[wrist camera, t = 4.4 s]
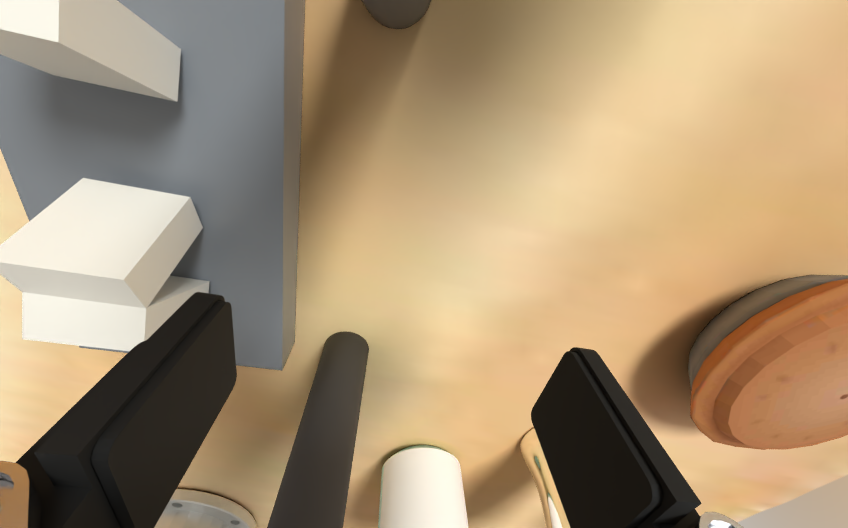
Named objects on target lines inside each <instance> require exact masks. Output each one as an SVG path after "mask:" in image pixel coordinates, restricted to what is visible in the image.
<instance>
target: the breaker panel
mask: <svg viewBox="0 0 848 528" xmlns="http://www.w3.org/2000/svg"><path fill="white" fill-rule="evenodd" d="M117 1H119V2H120V3H121V4H123V5H124V6H125V7H126V8H128V9H129V10H130V11H132V12H133V13H134V14H136V15H137V16H138V17H140V18H141V19H142V20H143V21H145V22H146V23H147V24H149V25H150V26H151V27H153V28H154V29H155V30H157V31H158V32H159V33H160V34H162V35H163V36H164V37H166V38H167V39H168V40H170V41H171V42H172V43H174V44H175V45H176V46H177V47H179V48H180V49H181V56H180V71H179V86H178V101H177V102H176V101H171V100H166V99H162V98H157V97H152V96H148V95H143V94H138V93H134V92H129V91H124V90H120V89H115V88H111V87H106V86H101V85H97V84H92V83H87V82H83V81H78V80H73V79H69V78H64V77H60V76H55V75H52V74H49V73H46V72H44V71H41V70H39V69H36V68H34V67H31V66H29V65H26V64H24V63H21V62H19V61H16V60H13V59H11V58H8V57H6V56H3V55H1V54H0V149H1V151H2V154H3V156H4V159H5V161H6V164H7V166H8V169H9V171H10V174H11V176H12V179H13V181H14V184H15V186H16V189H17V191H18V194H19V196H20V199H21V201H22V204H23V206H24V209H25V211H26V214H27V216H28V219H29V221H31V220H32V219H33V218H34V217H36V216H37V215H38V214H39V213H40V212H42V211H43V210H44V209H45V208H47V207H48V206H49V205H50V204H52V203H53V202H54V201H55V200H56V199H58V198H59V197H60V196H61V195H63V194H64V193H65V192H66V191H68V190H69V189H70V188H71V187H72V186H74V185H75V184H76V183H77V182H79V181H80V180H81V179H82V178H87V179H92V180H98V181H104V182H109V183H115V184H120V185H126V186H132V187H137V188H143V189H148V190H154V191H160V192H165V193H171V194H176V195H182V196H188V197H191V200H192V202H193V205H194V207H195V209H196V212H197V214H198V217H199V219H200V222H201V224H202V227H203V228H202V230H201V231H200V233H199V234H198V236H197V237H196V239H195V240H194V241H193V243H192V244H191V246H190V247H189V249H188V250H187V251H186V253H185V254H184V256H183V257H182V259H181V260H180V261H179V263H178V264H177V266H176V267H175V269H174V270H173V271H172V273H171V274H170V276H177V277H184V278H191V279H197V280H204V281H210V282H209V294H216V295H222V296H223V297H224V299H225V302H229V303H230V304H231V307H232V320H233V333H234V346H235V360H236V365H238V366H247V367H256V368H265V369H274V370H283V368H284V365H285V363H286V361H287V358H288V356H289V354H290V352H291V349H292V347H293V345H294V342H295V316H296V283H297V250H298V217H299V184H300V151H301V118H302V85H303V52H304V19H305V0H117ZM79 347H81V348H89V349H98V350H107V351H116V352H124V353H128V352H129V351H122V350H113V349H104V348H96V347H87V346H79Z"/></svg>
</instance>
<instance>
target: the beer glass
mask: <svg viewBox="0 0 848 528" xmlns="http://www.w3.org/2000/svg"><path fill="white" fill-rule="evenodd" d="M520 451H521V454H522V456H523V458H524V460H525V462H526V464H527V466H528V468H529V470H530V472H531V474H532V477H533V479H534V481H535V484H536V487H537V490H538V493H539V497H540V501H541V505H542V510H543V516H544V521H545V528H570V525H569V522H568V520H567V517H566V514H565V511H564V509H563V506H562V503H561V500H560V498H559V495H558V492H557V489H556V486H555V484H554V481H553V478H552V475H551V473H550V470H549V467H548V464H547V462H546V459H545V456H544V453H543V451H542V448H541V445H540V442H539V440H538V437H537V434H536V431H535V428H533V429H531V430H530V431H529V432H528V433H527V434H526V435H525V436H524V437H523V439H522V440H521V443H520Z"/></svg>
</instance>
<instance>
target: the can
mask: <svg viewBox="0 0 848 528" xmlns="http://www.w3.org/2000/svg"><path fill="white" fill-rule="evenodd" d="M378 528H468V520H467V513H466V505H465V498H464V490H463V483H462V475H461V468H460V463H459V461H458V460H457V459H456V458H455V457H454V456H453V455H451V454H450V453H448V452H446V451H444V450H443V449H441V448H438V447H435V446H429V445H417V446H411V447H408V448H405V449H403V450H401V451H399V452H398V453H396V454H394V455H393V456H391V457H390V458H389V459H388V460H387V461H386V462H385V463H384V465H383V468H382V477H381V491H380V506H379V521H378Z"/></svg>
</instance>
